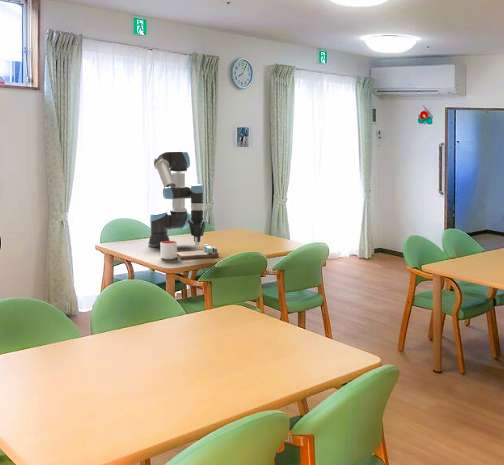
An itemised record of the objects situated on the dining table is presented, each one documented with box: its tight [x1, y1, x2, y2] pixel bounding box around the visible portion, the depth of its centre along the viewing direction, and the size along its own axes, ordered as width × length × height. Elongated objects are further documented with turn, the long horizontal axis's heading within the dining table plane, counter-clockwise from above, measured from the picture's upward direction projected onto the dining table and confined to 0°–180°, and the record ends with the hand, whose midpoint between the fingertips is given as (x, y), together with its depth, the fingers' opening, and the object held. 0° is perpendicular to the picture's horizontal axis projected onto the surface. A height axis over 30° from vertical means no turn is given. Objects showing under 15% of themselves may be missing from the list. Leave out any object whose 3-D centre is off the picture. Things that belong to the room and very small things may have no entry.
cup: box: [159, 240, 178, 260], centre depth 383 cm, size 10×10×10 cm
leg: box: [203, 243, 213, 253], centre depth 393 cm, size 12×3×4 cm, turn 17°
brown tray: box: [176, 245, 219, 260], centre depth 391 cm, size 14×24×5 cm, turn 112°
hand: (197, 246), depth 389 cm, fingers closed
